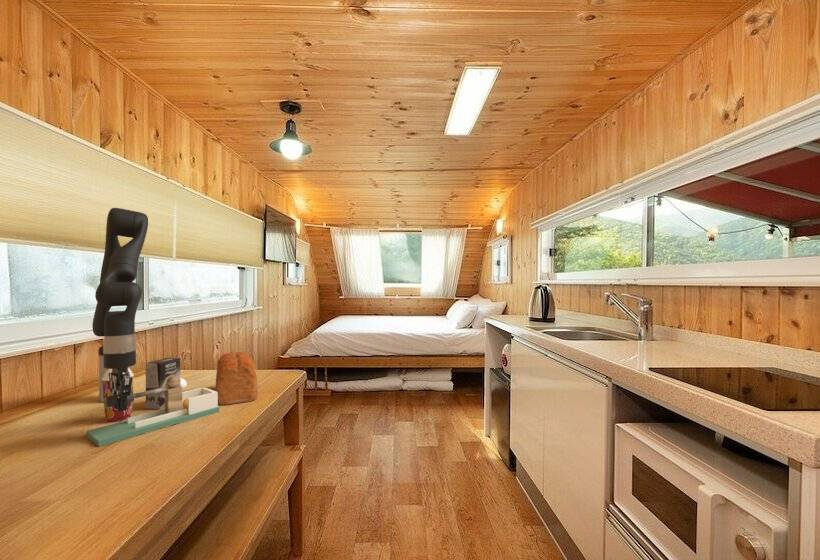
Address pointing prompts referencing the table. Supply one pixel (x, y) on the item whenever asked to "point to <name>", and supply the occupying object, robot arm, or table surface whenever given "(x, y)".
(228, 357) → the bread
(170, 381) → the rod
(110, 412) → the smoothie
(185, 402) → the ball
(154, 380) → the coffee box
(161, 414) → the pitch
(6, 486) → the table surface
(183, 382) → the garlic bulb
